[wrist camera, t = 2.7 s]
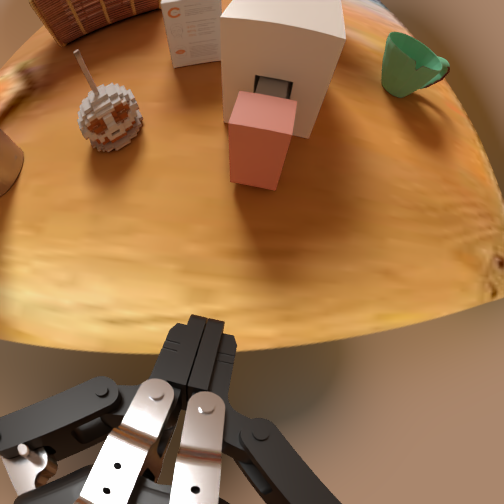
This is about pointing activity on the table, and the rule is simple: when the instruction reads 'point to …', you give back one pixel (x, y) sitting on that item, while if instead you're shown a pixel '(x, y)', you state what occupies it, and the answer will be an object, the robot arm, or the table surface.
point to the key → (261, 133)
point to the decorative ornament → (108, 114)
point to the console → (282, 51)
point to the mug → (410, 65)
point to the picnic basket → (85, 15)
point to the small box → (192, 30)
